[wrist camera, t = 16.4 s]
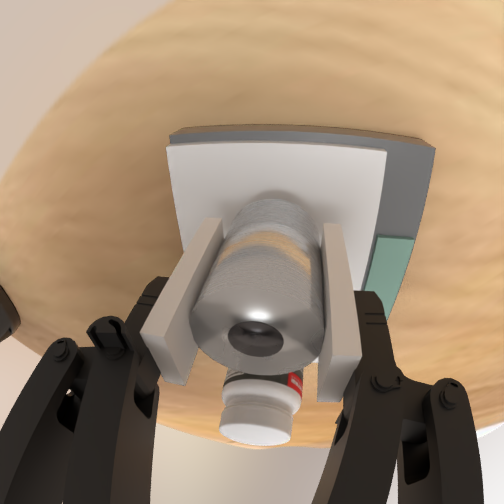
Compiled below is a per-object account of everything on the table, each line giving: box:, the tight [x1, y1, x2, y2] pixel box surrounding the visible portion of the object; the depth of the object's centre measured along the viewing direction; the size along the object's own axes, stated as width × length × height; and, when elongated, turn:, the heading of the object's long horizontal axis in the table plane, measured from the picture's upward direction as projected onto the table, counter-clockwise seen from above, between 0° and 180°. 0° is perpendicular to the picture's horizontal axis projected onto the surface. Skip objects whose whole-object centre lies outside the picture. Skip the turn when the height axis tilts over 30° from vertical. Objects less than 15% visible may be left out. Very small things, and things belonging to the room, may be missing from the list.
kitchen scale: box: [166, 125, 436, 363], centre depth 18 cm, size 14×18×3 cm
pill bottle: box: [219, 368, 304, 446], centre depth 17 cm, size 5×5×8 cm
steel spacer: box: [189, 199, 325, 375], centre depth 11 cm, size 4×4×6 cm
